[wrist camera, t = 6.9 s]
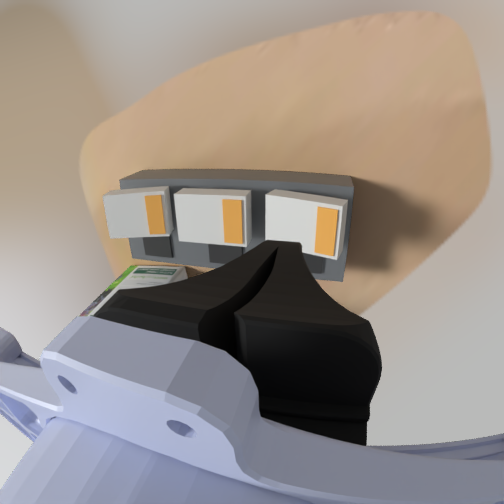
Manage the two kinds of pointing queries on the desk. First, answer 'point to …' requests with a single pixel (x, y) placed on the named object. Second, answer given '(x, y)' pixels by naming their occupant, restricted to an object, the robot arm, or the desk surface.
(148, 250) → the rocker switch panel
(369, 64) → the desk surface
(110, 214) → the rocker
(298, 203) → the rocker
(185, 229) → the block
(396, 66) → the desk surface
